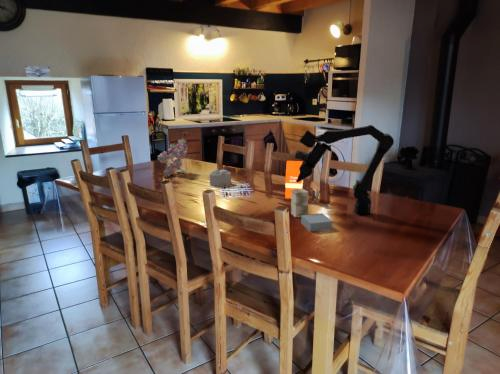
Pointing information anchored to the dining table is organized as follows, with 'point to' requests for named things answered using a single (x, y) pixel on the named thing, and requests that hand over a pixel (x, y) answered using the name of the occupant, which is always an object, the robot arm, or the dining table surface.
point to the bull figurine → (313, 194)
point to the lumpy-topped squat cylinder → (220, 178)
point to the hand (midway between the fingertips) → (298, 179)
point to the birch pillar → (299, 202)
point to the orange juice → (292, 177)
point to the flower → (177, 152)
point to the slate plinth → (316, 222)
